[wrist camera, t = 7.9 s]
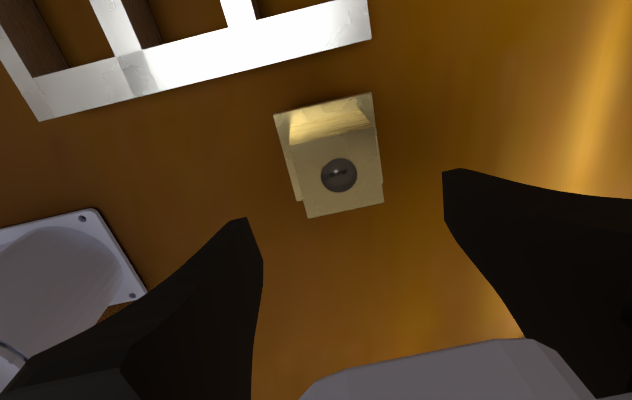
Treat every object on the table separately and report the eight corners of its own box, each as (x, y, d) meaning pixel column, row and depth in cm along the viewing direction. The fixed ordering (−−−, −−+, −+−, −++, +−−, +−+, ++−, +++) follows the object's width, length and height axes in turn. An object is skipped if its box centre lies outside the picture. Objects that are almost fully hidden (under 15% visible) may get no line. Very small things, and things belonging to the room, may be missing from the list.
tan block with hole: (296, 177, 22) (296, 234, 15) (277, 102, 19) (267, 133, 13) (369, 160, 21) (400, 212, 15) (358, 83, 19) (389, 106, 13)
